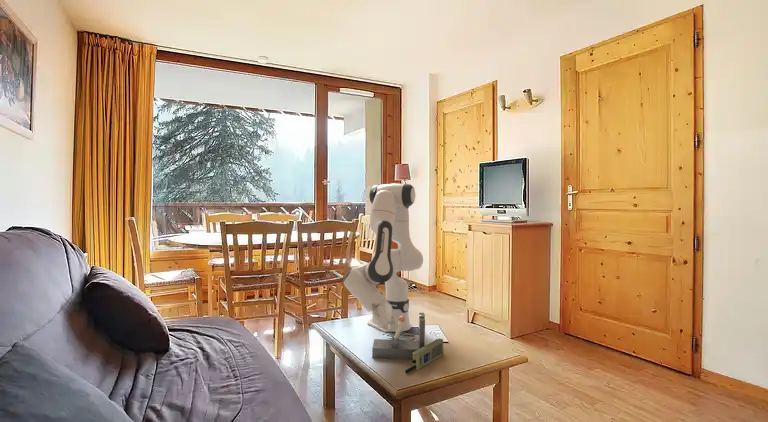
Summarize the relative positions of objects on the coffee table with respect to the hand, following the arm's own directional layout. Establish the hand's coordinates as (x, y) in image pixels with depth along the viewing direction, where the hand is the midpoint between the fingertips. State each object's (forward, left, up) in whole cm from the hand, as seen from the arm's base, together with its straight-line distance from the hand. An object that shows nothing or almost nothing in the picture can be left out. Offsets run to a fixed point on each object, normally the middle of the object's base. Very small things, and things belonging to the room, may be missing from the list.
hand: (396, 325), depth 167 cm
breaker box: (+1, +1, -12) cm, 12 cm away
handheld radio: (+14, +1, -12) cm, 19 cm away
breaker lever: (-1, 0, -8) cm, 8 cm away
